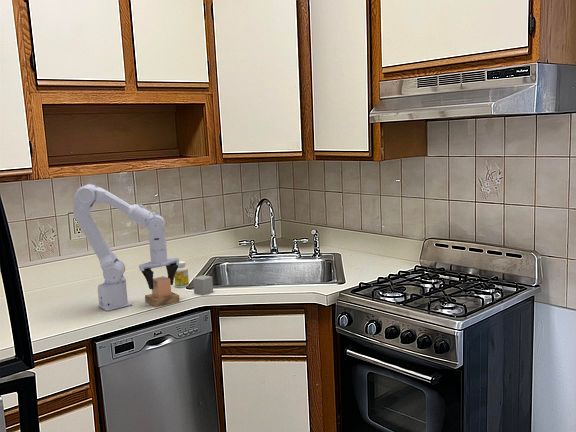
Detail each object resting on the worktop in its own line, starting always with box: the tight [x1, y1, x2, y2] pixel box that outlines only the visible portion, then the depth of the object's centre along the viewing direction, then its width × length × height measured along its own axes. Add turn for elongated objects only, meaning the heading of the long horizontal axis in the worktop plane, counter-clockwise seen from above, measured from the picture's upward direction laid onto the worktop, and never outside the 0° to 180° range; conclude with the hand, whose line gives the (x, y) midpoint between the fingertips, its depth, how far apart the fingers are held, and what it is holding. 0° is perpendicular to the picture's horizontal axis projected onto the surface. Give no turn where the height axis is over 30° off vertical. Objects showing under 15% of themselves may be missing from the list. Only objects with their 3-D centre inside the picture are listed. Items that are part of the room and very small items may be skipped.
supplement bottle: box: [174, 260, 190, 289], centre depth 228 cm, size 5×5×10 cm
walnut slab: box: [144, 291, 180, 308], centre depth 208 cm, size 9×9×3 cm
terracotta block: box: [151, 276, 172, 298], centre depth 207 cm, size 5×5×6 cm
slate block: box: [192, 274, 214, 296], centre depth 217 cm, size 5×5×6 cm
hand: (161, 286), depth 207 cm, fingers open, 7 cm apart
